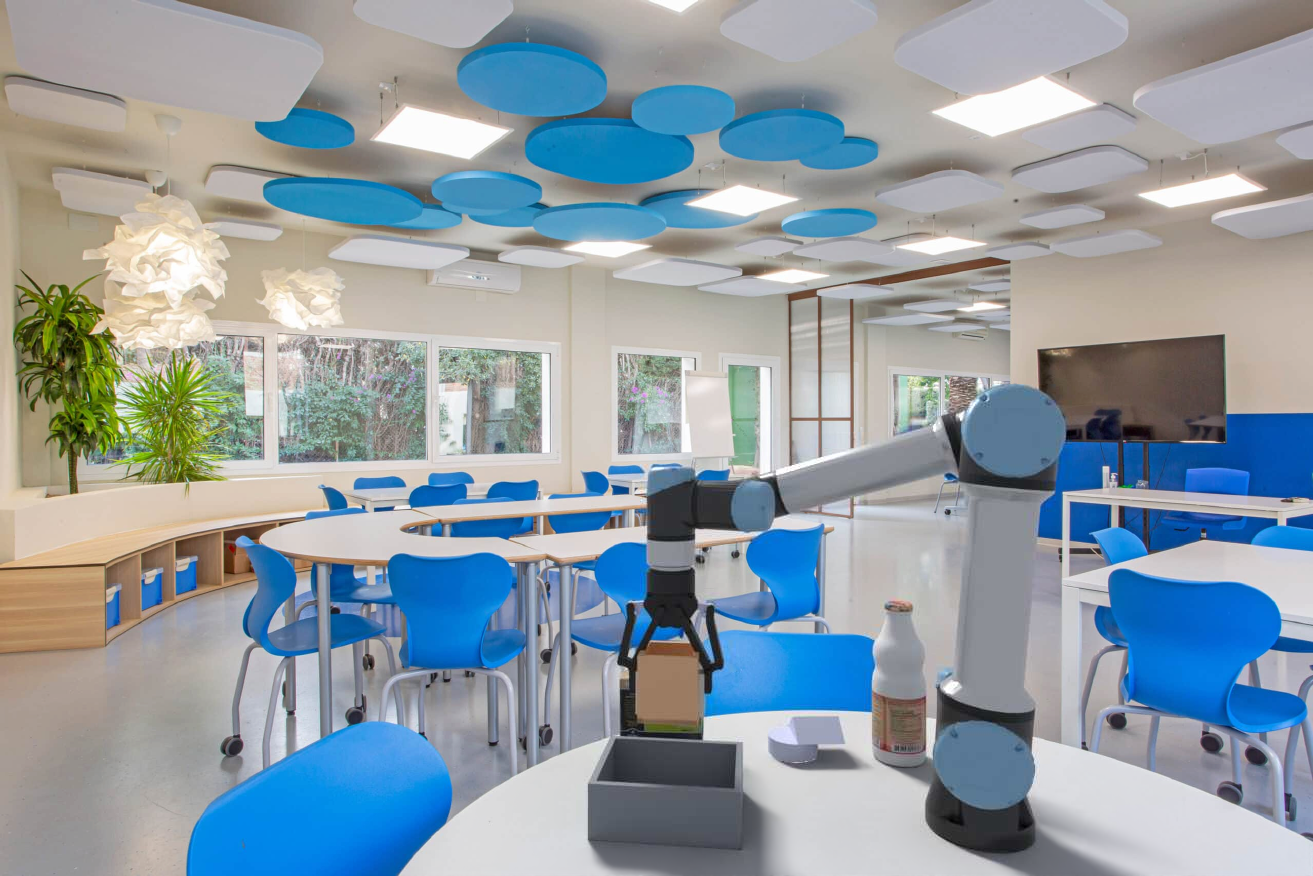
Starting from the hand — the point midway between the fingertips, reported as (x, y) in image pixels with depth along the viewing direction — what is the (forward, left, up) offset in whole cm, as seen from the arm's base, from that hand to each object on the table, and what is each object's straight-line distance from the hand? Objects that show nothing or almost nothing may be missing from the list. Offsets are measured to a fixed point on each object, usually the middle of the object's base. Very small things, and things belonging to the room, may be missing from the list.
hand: (670, 712), depth 116 cm
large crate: (0, 0, -15) cm, 15 cm away
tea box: (+4, -24, -16) cm, 29 cm away
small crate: (0, 0, 0) cm, 0 cm away
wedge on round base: (-22, -26, -16) cm, 38 cm away
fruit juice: (-39, -26, -16) cm, 49 cm away
